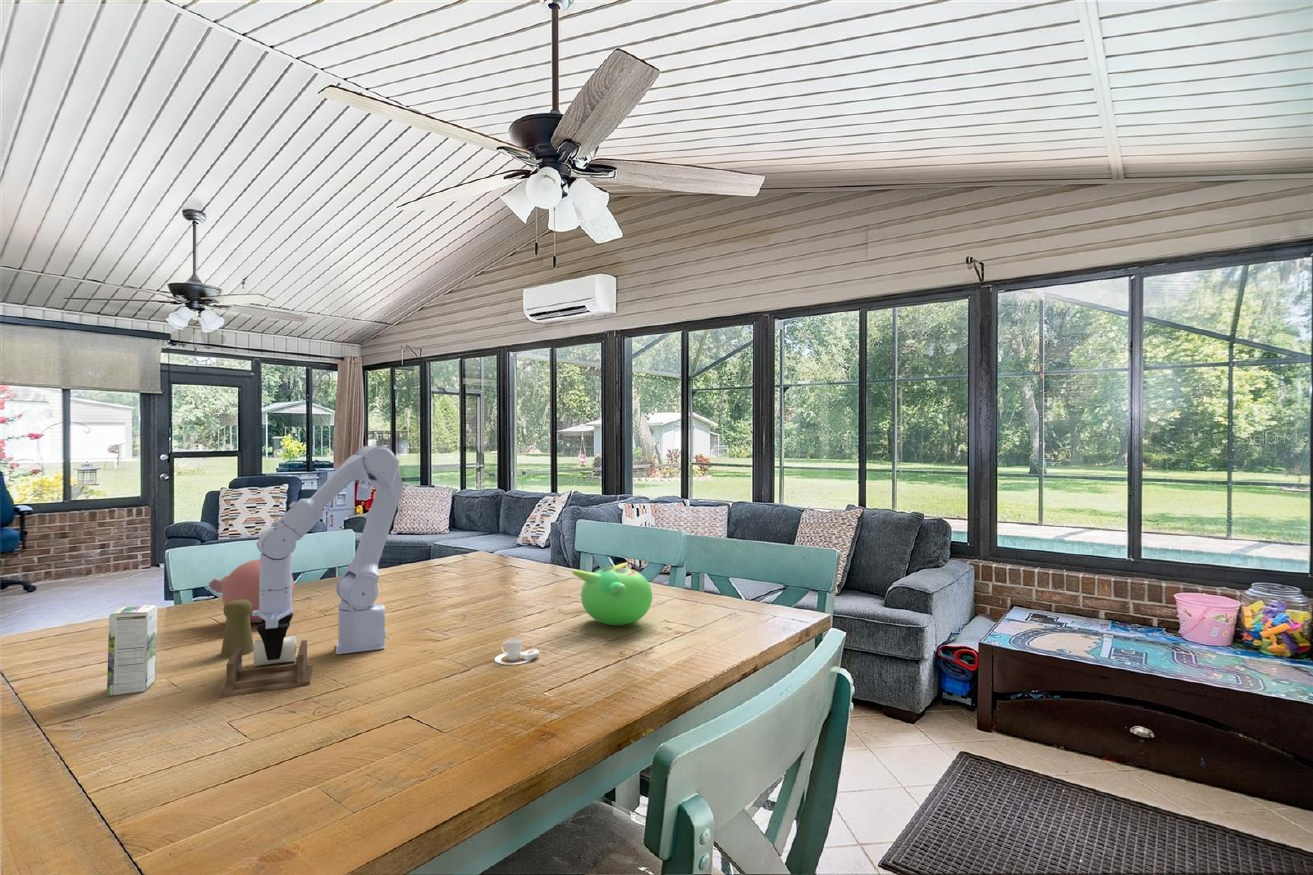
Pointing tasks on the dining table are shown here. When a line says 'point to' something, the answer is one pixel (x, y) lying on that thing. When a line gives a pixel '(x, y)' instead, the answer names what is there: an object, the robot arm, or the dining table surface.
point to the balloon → (242, 586)
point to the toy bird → (615, 594)
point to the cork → (237, 628)
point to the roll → (286, 654)
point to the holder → (265, 674)
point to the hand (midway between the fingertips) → (275, 655)
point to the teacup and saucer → (516, 652)
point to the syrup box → (132, 649)
